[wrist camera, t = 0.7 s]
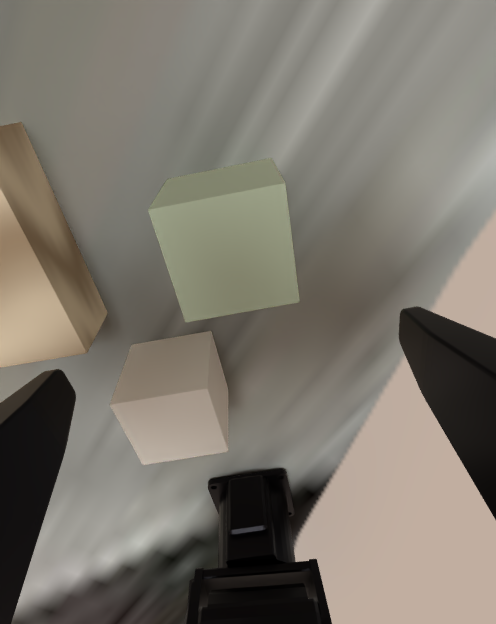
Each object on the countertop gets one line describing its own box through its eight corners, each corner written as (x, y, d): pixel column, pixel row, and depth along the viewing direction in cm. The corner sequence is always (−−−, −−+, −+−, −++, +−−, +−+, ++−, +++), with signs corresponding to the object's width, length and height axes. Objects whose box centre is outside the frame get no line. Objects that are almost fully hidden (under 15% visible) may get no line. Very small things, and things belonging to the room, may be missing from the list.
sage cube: (284, 254, 20) (299, 302, 16) (194, 271, 20) (185, 322, 16) (271, 157, 17) (285, 183, 13) (167, 178, 17) (148, 209, 13)
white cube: (228, 388, 25) (228, 451, 21) (157, 400, 25) (142, 465, 21) (211, 329, 22) (207, 388, 18) (132, 343, 22) (109, 404, 18)
